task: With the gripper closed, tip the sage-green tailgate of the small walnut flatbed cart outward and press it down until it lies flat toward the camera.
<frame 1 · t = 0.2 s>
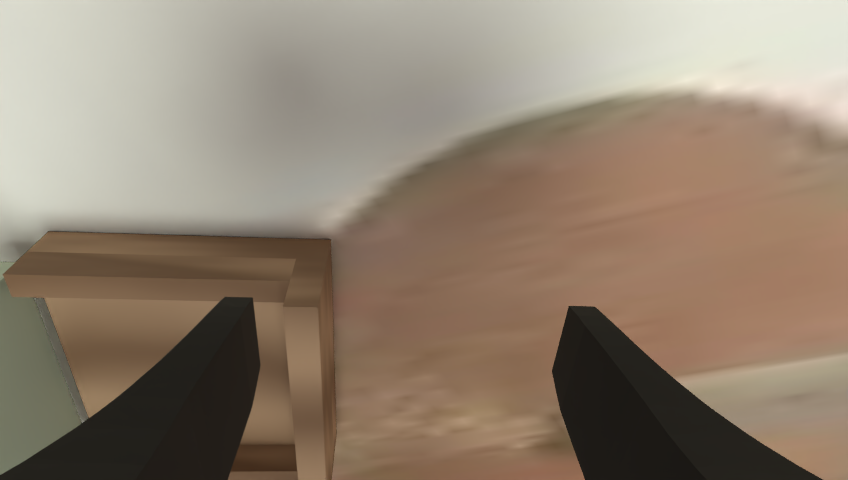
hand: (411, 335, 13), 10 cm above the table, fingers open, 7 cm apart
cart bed: (212, 346, 25), on the table
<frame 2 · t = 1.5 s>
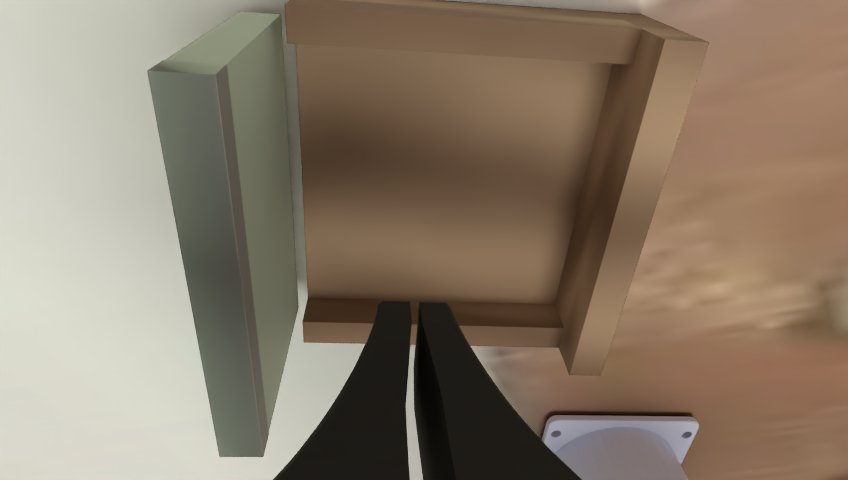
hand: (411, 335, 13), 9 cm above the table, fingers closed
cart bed: (456, 172, 21), on the table
tailgate: (250, 232, 16), point 5 cm above the table, hinge at 0.0°
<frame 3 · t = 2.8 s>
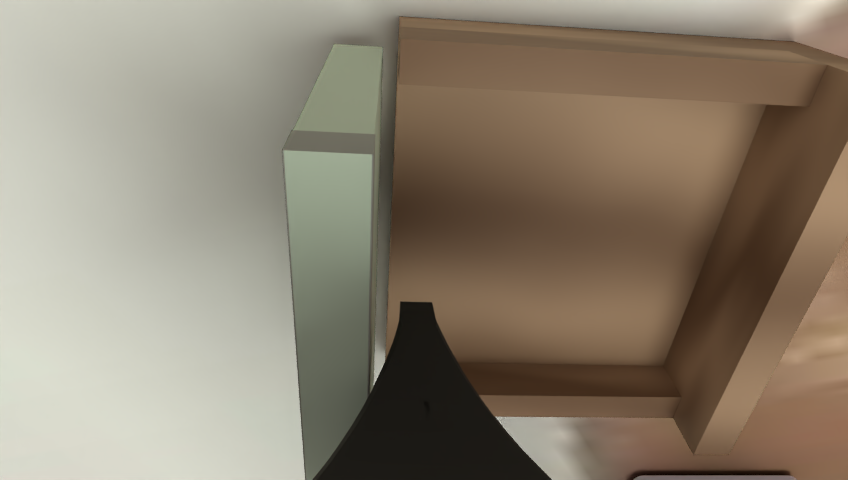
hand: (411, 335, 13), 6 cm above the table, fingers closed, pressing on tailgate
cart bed: (560, 220, 18), on the table
tailgate: (348, 309, 13), point 5 cm above the table, hinge at 0.3°, touching gripper
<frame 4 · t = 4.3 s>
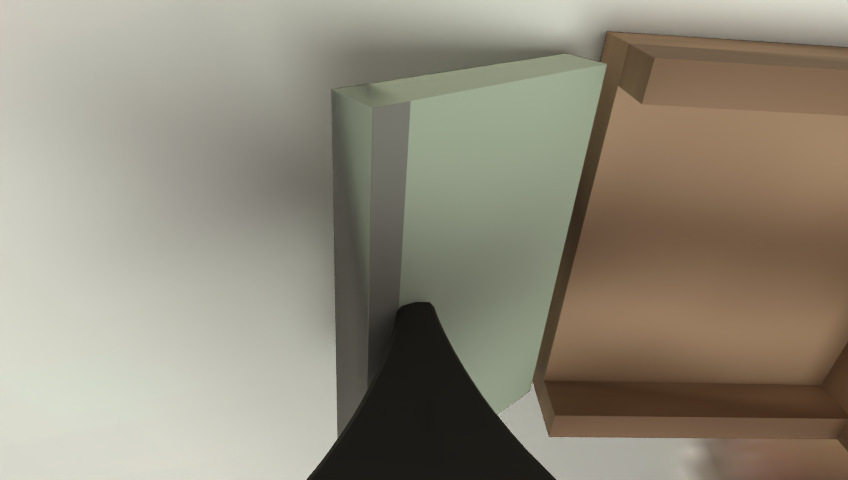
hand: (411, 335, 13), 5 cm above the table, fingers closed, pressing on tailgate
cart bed: (730, 237, 18), on the table
tailgate: (462, 288, 14), point 3 cm above the table, hinge at 51.4°, touching gripper
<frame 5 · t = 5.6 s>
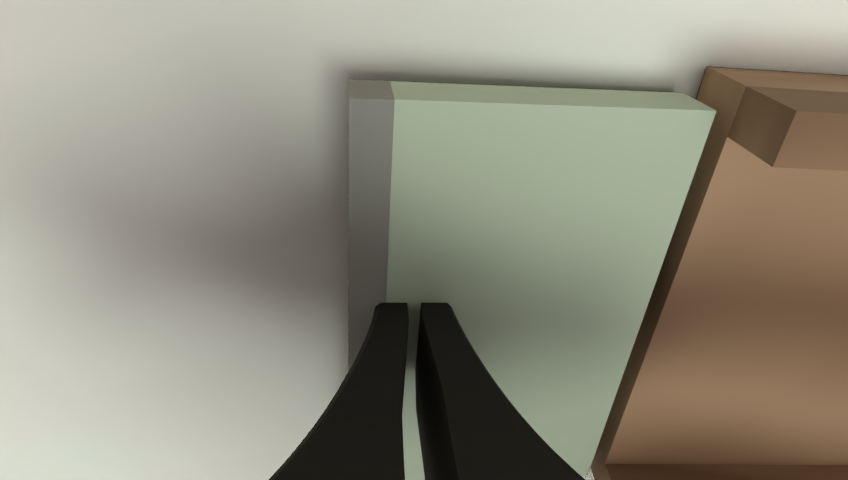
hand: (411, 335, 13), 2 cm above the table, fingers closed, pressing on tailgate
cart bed: (827, 300, 15), on the table
tailgate: (493, 318, 13), point 1 cm above the table, hinge at 85.8°, touching gripper
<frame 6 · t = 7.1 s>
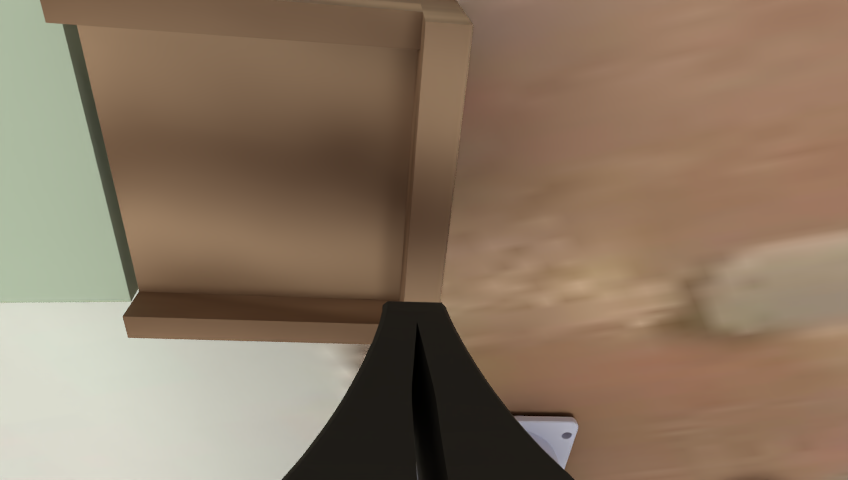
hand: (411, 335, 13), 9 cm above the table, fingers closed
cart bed: (287, 163, 20), on the table
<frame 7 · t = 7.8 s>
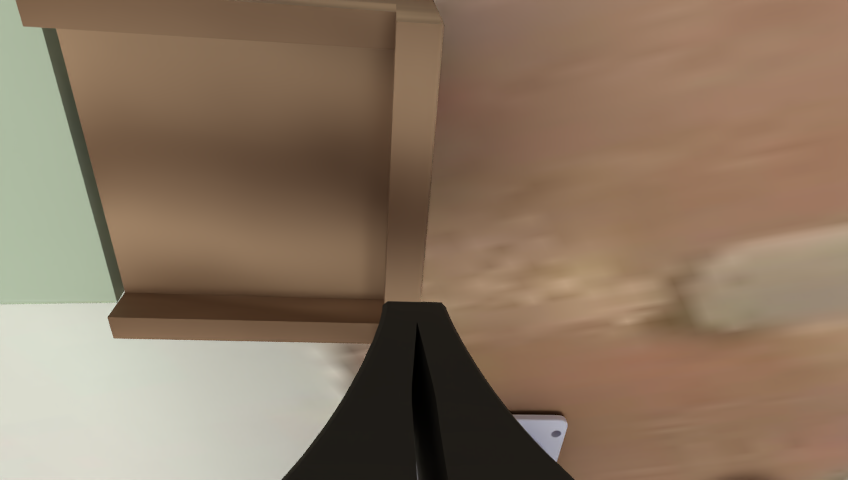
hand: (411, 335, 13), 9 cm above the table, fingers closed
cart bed: (270, 164, 20), on the table
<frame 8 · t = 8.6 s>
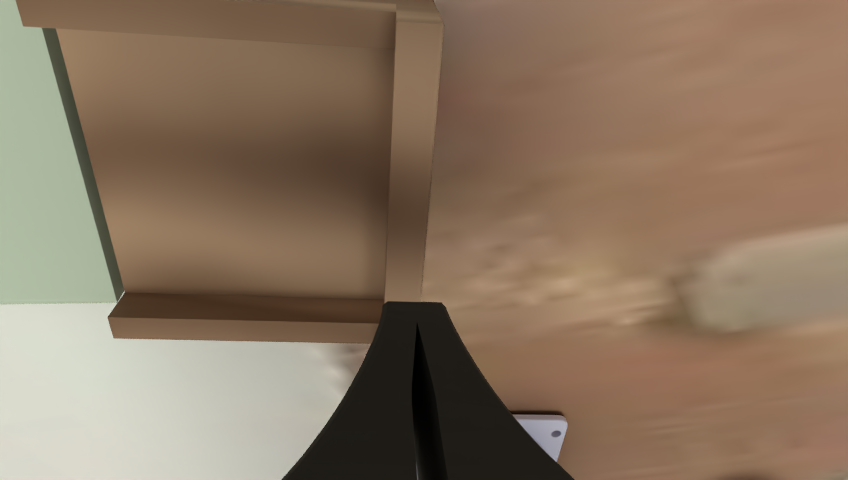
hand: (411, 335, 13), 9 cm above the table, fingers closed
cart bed: (270, 164, 20), on the table
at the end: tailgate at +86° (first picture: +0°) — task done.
